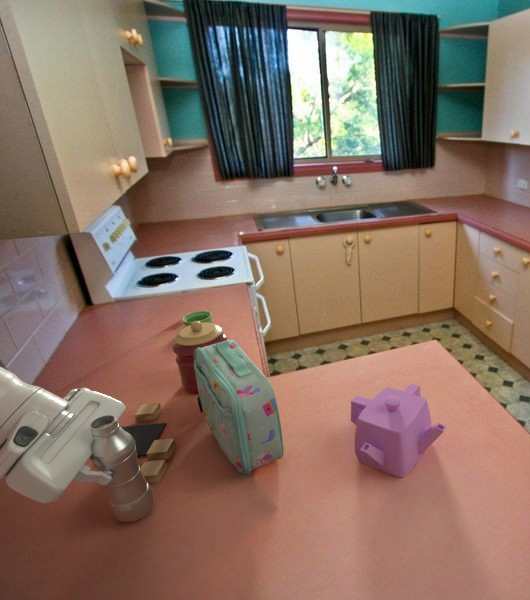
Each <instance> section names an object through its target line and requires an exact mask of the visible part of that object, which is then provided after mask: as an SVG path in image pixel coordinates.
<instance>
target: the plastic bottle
mask: <svg viewBox="0 0 530 600" xmlns="http://www.w3.org/2000/svg"><path fill="white" fill-rule="evenodd" d="M120 427H121V426H120V423H119V421H117V420H116V417H115V416H114V415H105V416H101V417H99V418H97V419H95V420H94V421H92V422H91V424H90V430H91V432H92V433H91V434H92V437H93V438H95V439H94V441H93V444H92V451H93V453H92V455H91V456H90V458H89V459H90V460H91V462H92V464H93V465H94V467H95V468H96V471H101V472H103V470H104V469H108V470H110V471H113V472H114V473H115V475H114V476H113V478H112V480H111V481H110V482H109V483H108V485H106V489H107V494H108V497H109V505H110V506H109V507H110V510H111V511H110V512H111V514H112V515H113V516H114V517H115V518H116V520H117V521H119V522H122V523H133V522H136V521H139V520H140V519H142V518H144V517H145V516H146V515H148V514H149V512H150V511H151V510H152V508H153V505H154V502H155V496H154V490H153V489H152V487H151V486H150V484H148V483H147V482H146V480H145V478H144V476H143V474H142V472H141V469H140V468H141V466H140V462H139V459H138V458H139V457H137V451H136V444H135V440H134V438H133V437H132V436H131V435H130V433H128V432H126V431H124V430H122V429H119V428H120Z"/></svg>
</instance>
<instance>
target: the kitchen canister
mask: <svg viewBox="0 0 530 600" xmlns="http://www.w3.org/2000/svg"><path fill="white" fill-rule="evenodd" d="M227 340H228V334H226V333H225V332H224V331H223V328H222V326H220V325H218V324H215V323H213V322H212V323H207V322H203V323H200V322H199V321H194V322H192V323H191V325H189V326H187V327H185V326H184V327H183V328H182V329H180V330H179V331H178V332H177V333H176V334H175V335H174V337H173V342H174V343H173V345H172V348H171V349H172V352H173V353H174V354H176V356H175V363H176V364H177V368H178V371H179V376H180V382H181V385H182V386H183V388H184V390H185V391H186V392H188V393H190V394H193V395H194V394H195V395H199V392H198V386H197V381H196V374H195V370H194V352H195V350H196V349H197V348H199V347H200V348H203V347H205V346H209V345H213V344H216V343H220V342H223V341H227Z"/></svg>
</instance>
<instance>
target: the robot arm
mask: <svg viewBox="0 0 530 600" xmlns="http://www.w3.org/2000/svg"><path fill="white" fill-rule="evenodd" d="M126 410H127V407H126V405H125V403H123V402H122V401H120V400H118V399H116V398H114V397H112V396H109V395H107V394H104V393H101V392H98V391H95V390H91V389H89V388H87V387H78V388H72V389H70V390H69V391H68V392H67V393H66V395H65V396H64V397H60V396H58V395H56V394H55V393H52V391H51V392H50V391H49V390H47V389H45V388H43V387H42V386H38V385H34V384H29V383H28V382H25V381H23V380H21V378H19V377H18V376H17V374H15V373H13V372H12V371H10V370H9V369H8V368H7V367H6V365H5V364H4V362H3V361H2V359H0V480H3V479H4V478H5V483H6V485H7V486H8V487H9V488H10V489H12V490H13V491H14V492H16V493H18V494H19V495H22V496H24V497H26V498H28V499H30V500H33V501H35V502H38V503H41V504H50V503H51V504H52V503H55V502H56V501H57V500H59V498H60V497H61V496H62V494H63V493H64V492H65V491H66V490H67V488H68V487H69V486H70V484H71V483H72V482H73V481H75V482H77V483H79V484H86V483H97V484H99V485H101V486H104V487H105V486H106V485H108V483H109V482H110V481H111V480H112V478H113V476H114V475H115V473H114V472H113V471H110V470H108V469H104V470H103V472H101V471H98V470H92V467H90V466H88V465H86V463H87V462H88V461H89V459H90V456H91V455H92V453H93V451H92V444H93V441H94V439H95V438H93V437H92V434H91V433H92V432H91V430H90V424H91V422H92V421H94V420H95V419H97V418H99V417H101V416H105V415H114V416H115V417H116V420H117V422H119V420H120V418H121V417H122V415H124V413H125V412H126ZM122 427H123V426H120V428H119V429H122ZM122 430H123V429H122ZM135 443H136V442H135ZM106 487H107V486H106Z"/></svg>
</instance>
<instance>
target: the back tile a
mask: <svg viewBox="0 0 530 600" xmlns="http://www.w3.org/2000/svg"><path fill="white" fill-rule="evenodd" d="M161 411H162V407H161V404H160V402H153V403H142V404H141V405H140V406H139V407H138V410H136V412H135V413H134V417H135V420H136V421H135V422H139V423H140V422H150V421H156V419H157V417H158V416H159V414H160V413H161Z"/></svg>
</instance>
